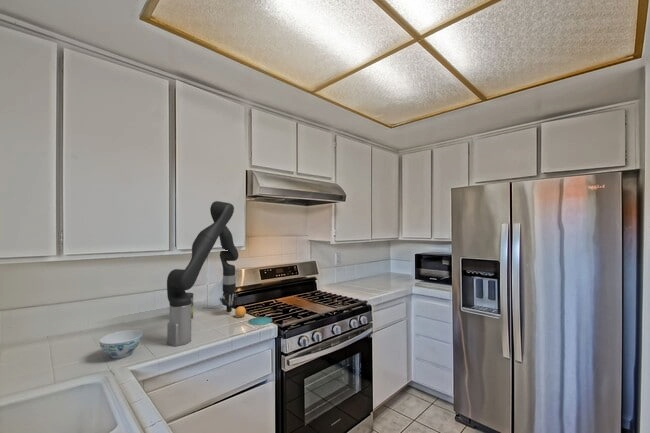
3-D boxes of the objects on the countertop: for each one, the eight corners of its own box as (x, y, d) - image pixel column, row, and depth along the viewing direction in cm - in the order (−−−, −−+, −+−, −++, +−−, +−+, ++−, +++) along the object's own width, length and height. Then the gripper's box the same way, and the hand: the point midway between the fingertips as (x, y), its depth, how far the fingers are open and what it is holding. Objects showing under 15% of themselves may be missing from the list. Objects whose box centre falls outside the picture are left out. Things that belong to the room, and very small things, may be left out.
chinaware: (130, 345, 140) (130, 327, 140) (149, 352, 132) (149, 334, 132) (91, 358, 127) (92, 339, 127) (110, 366, 119) (110, 346, 119)
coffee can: (197, 317, 180) (197, 292, 180) (185, 322, 170) (186, 297, 170) (181, 316, 182) (181, 292, 182) (169, 321, 172) (169, 296, 172)
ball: (240, 319, 176) (240, 308, 176) (232, 317, 179) (232, 307, 179) (248, 316, 182) (248, 305, 182) (240, 314, 184) (240, 304, 185)
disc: (261, 326, 164) (261, 325, 164) (243, 322, 171) (243, 322, 171) (277, 319, 175) (277, 319, 175) (259, 316, 182) (259, 315, 182)
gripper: (225, 285, 178) (225, 315, 177) (241, 281, 189) (241, 310, 189) (215, 284, 181) (215, 313, 181) (232, 280, 193) (232, 308, 193)
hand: (229, 311), depth 185 cm, fingers closed
